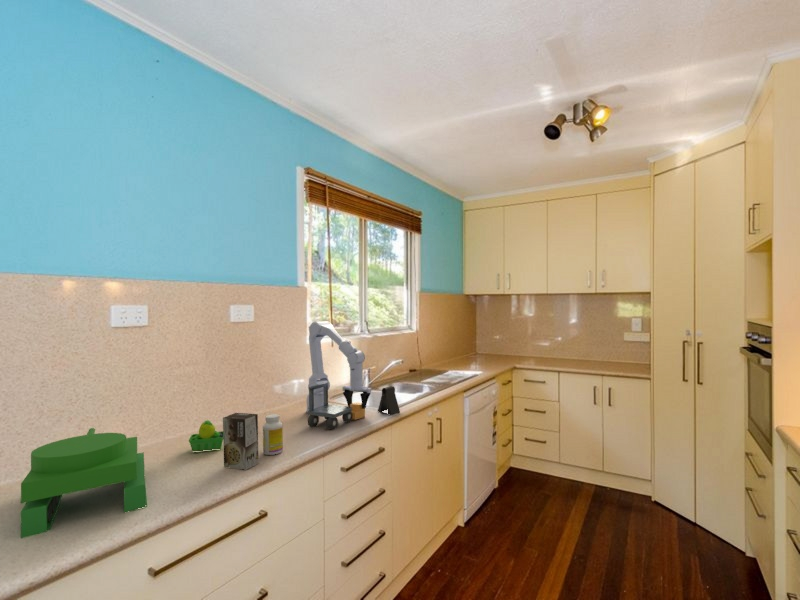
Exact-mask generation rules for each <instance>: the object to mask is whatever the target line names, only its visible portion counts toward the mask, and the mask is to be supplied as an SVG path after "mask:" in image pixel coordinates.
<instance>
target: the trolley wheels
mask: <svg viewBox="0 0 800 600" xmlns="http://www.w3.org/2000/svg"><path fill="white" fill-rule="evenodd" d="M352 416H353V415H352V412H351V411H350V412H348V413H346V414H343V415H341V417H342V418H341V419H342V421H343V423H348V422H349V423H351V422H350V421H352V420H353V419H352ZM323 418H324V419H325V420H326V428H327V429H328V430H332V431H333V430H336V429H337V428H338V424H339V420H338V417H336V418H330V417H323ZM319 422H320V416H315V415H308V419H307V425H308V426H309V427H312V428H313V427H317V426H318V425H319Z"/></svg>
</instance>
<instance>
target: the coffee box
mask: <svg viewBox="0 0 800 600" xmlns="http://www.w3.org/2000/svg"><path fill="white" fill-rule="evenodd" d="M258 419H259V418H258V413H245V412H234V413H230V414H229V415H227V416H225V417H223V418H222V431H223V442H222V445H223V468H226V467H230V468H229V469H234V468H236V469H235V470H242V469H244V471H248V470H249V469H251V468H252V466H253V467H255V466H256V465H258V464H259V461H260V460H259V430H258V429H259V422H258V421H259V420H258Z"/></svg>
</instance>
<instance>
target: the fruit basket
mask: <svg viewBox="0 0 800 600" xmlns="http://www.w3.org/2000/svg"><path fill="white" fill-rule="evenodd" d="M188 442H189V445H190V447H191V452H192V451H203V450H212V449H220V450H221V449H222V445H223V430H220V431H216V426H215V425H214V424H213V422H211V421H210V420H205V421H203V422H202V423H201V424H200V426H199V428H198V433H193V434H191V435H190V437H189V439H188Z"/></svg>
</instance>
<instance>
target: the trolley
mask: <svg viewBox="0 0 800 600" xmlns="http://www.w3.org/2000/svg"><path fill="white" fill-rule="evenodd" d="M321 387H323V390H324V405H323V406H320V407H317V408H315V409H314V390H315V389H318V388H321ZM308 394H309V411H308V412H307V415H308V416H310V415H315V416H318V417H323V418H324V417H330V418H338V417H340V416H341V417H342V415H343V414H346V413H348V412H350V411H352V407H348V405H338V404H329V389H328V382H324V383H321V384H317V385H314V386H310V387H309V389H308Z"/></svg>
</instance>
